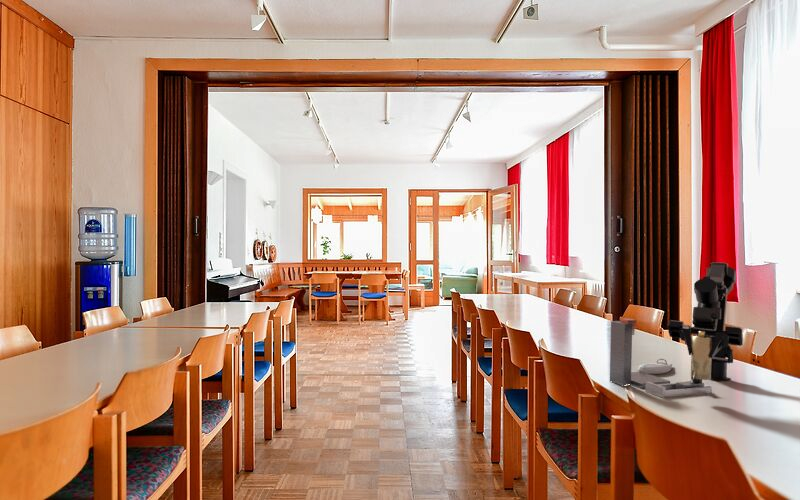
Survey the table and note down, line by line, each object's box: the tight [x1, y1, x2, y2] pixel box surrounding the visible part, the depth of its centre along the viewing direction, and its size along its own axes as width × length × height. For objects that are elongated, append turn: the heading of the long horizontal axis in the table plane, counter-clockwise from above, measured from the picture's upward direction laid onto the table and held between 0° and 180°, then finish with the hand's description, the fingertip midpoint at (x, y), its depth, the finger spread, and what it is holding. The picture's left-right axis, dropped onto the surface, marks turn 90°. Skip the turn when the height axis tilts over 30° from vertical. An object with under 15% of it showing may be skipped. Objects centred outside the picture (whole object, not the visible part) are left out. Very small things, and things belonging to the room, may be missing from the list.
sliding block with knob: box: [675, 376, 705, 390], centre depth 148 cm, size 8×3×6 cm, turn 108°
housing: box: [690, 331, 712, 381], centre depth 139 cm, size 5×5×14 cm
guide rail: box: [644, 382, 713, 399], centre depth 146 cm, size 20×6×3 cm, turn 108°
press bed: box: [609, 317, 671, 389], centre depth 156 cm, size 16×12×21 cm
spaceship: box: [637, 358, 673, 375], centre depth 171 cm, size 23×7×4 cm, turn 125°
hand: (700, 355), depth 138 cm, fingers closed on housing, 5 cm apart
